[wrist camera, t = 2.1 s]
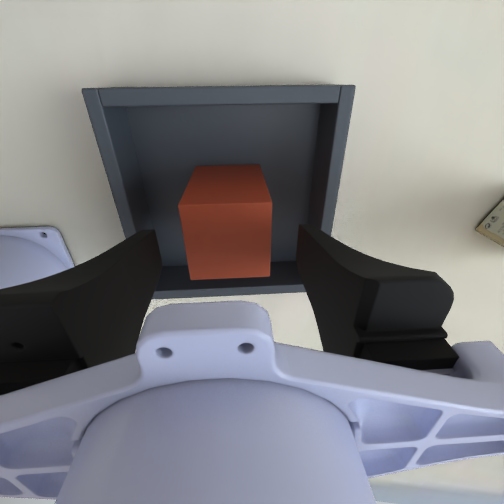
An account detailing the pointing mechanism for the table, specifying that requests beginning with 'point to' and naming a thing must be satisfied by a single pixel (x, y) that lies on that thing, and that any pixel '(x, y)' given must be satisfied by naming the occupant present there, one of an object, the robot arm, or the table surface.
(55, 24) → the table surface
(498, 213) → the cosmetic box
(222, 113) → the tub
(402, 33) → the table surface
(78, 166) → the table surface
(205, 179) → the red block
